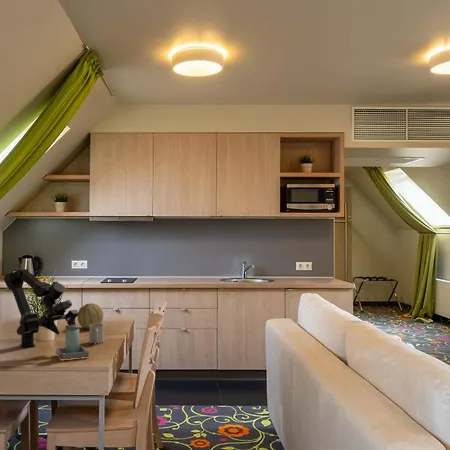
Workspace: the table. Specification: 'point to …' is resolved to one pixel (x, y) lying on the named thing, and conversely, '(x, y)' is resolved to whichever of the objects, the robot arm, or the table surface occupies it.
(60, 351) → the grey square tray
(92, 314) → the seamed olive ball
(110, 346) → the table surface
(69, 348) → the canister
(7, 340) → the table surface
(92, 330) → the cup
